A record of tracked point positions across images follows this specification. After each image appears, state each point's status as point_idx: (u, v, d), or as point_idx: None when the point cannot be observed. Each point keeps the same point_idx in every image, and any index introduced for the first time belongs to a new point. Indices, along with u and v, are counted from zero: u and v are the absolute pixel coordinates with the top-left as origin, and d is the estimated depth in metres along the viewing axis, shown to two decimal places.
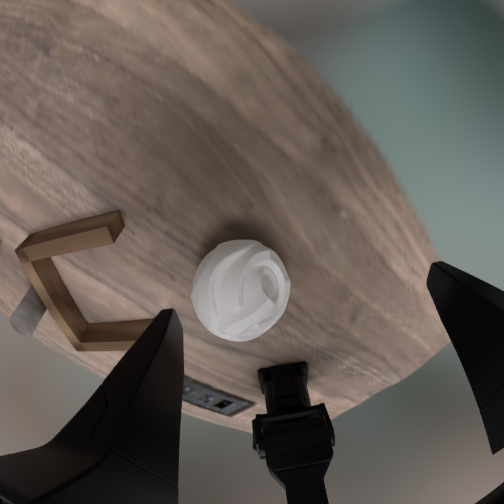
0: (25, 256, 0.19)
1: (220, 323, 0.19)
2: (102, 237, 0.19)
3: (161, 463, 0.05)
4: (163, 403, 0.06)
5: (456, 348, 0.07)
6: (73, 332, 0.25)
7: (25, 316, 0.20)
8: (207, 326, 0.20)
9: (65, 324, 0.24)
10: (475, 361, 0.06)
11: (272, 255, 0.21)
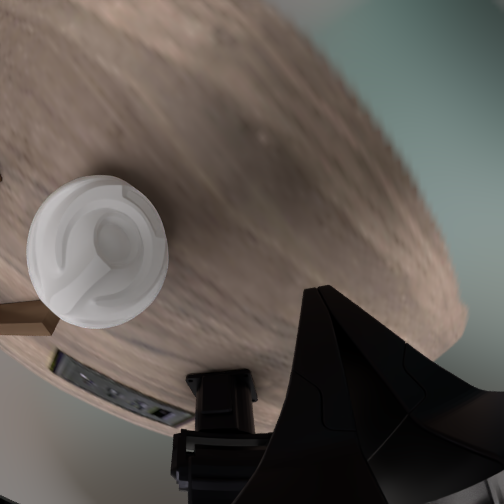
0: None
1: (45, 293, 0.10)
2: None
3: None
4: None
5: None
6: None
7: None
8: (41, 299, 0.11)
9: None
10: (355, 409, 0.06)
11: (132, 195, 0.13)
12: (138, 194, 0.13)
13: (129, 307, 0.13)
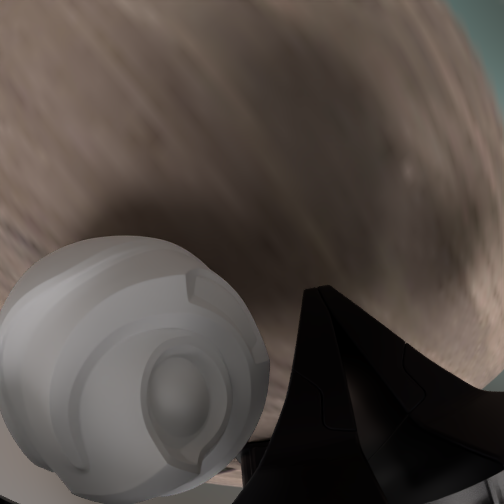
0: None
1: (57, 474, 0.04)
2: None
3: None
4: None
5: None
6: None
7: None
8: None
9: None
10: (355, 409, 0.06)
11: (204, 288, 0.06)
12: (213, 280, 0.07)
13: None
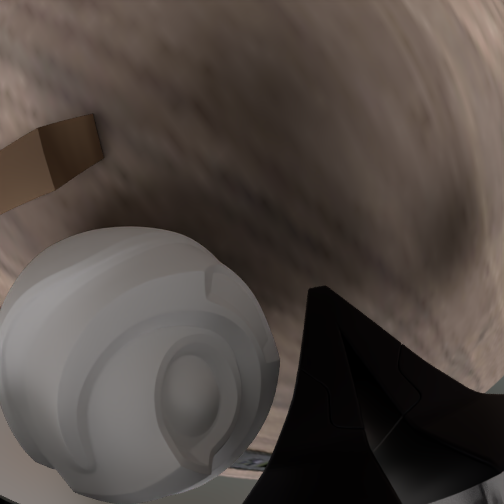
0: None
1: (58, 472, 0.04)
2: (24, 172, 0.05)
3: None
4: None
5: None
6: None
7: None
8: None
9: None
10: None
11: (220, 285, 0.06)
12: (229, 277, 0.06)
13: None
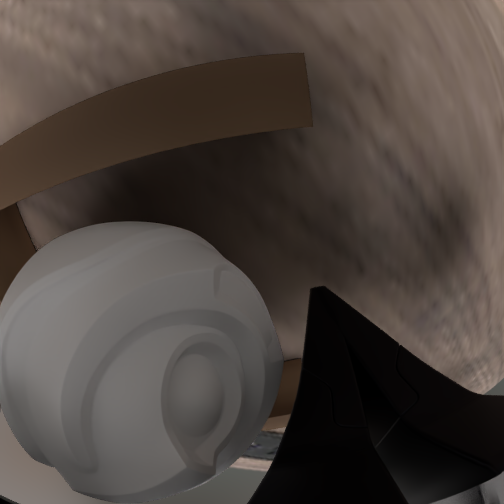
0: None
1: None
2: (269, 94, 0.05)
3: None
4: None
5: None
6: None
7: None
8: None
9: None
10: None
11: (228, 284, 0.06)
12: (236, 276, 0.06)
13: None
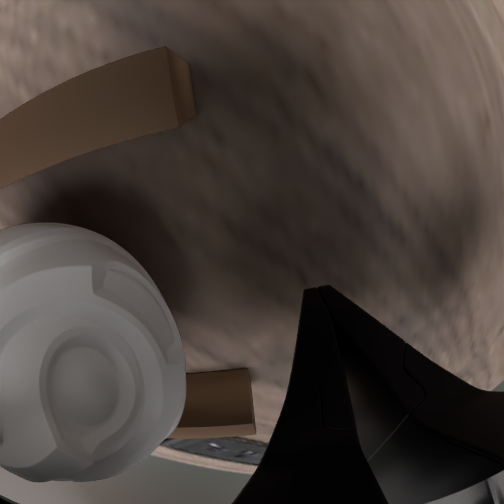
0: None
1: None
2: (129, 100, 0.04)
3: None
4: None
5: None
6: None
7: None
8: None
9: None
10: (355, 409, 0.06)
11: (115, 282, 0.06)
12: (129, 275, 0.06)
13: None
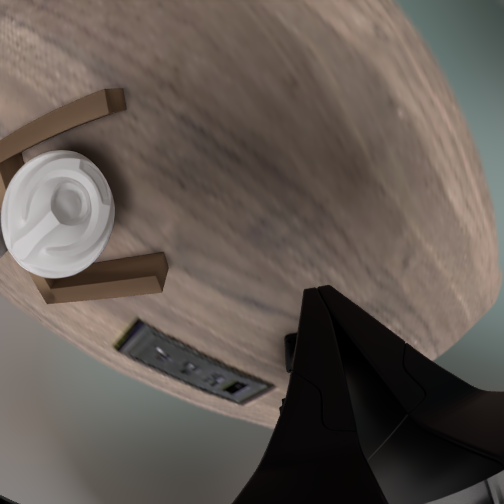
0: None
1: (10, 241, 0.11)
2: (95, 106, 0.12)
3: None
4: None
5: None
6: None
7: None
8: None
9: None
10: (355, 409, 0.06)
11: (88, 168, 0.14)
12: (93, 168, 0.14)
13: (75, 261, 0.14)
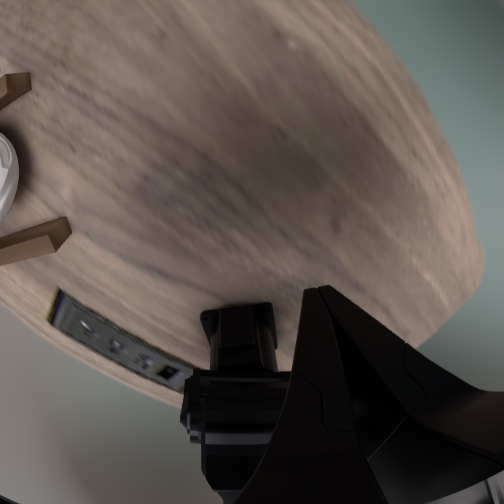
0: None
1: None
2: None
3: None
4: None
5: None
6: None
7: None
8: None
9: None
10: (355, 409, 0.06)
11: None
12: (1, 139, 0.12)
13: None
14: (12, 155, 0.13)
